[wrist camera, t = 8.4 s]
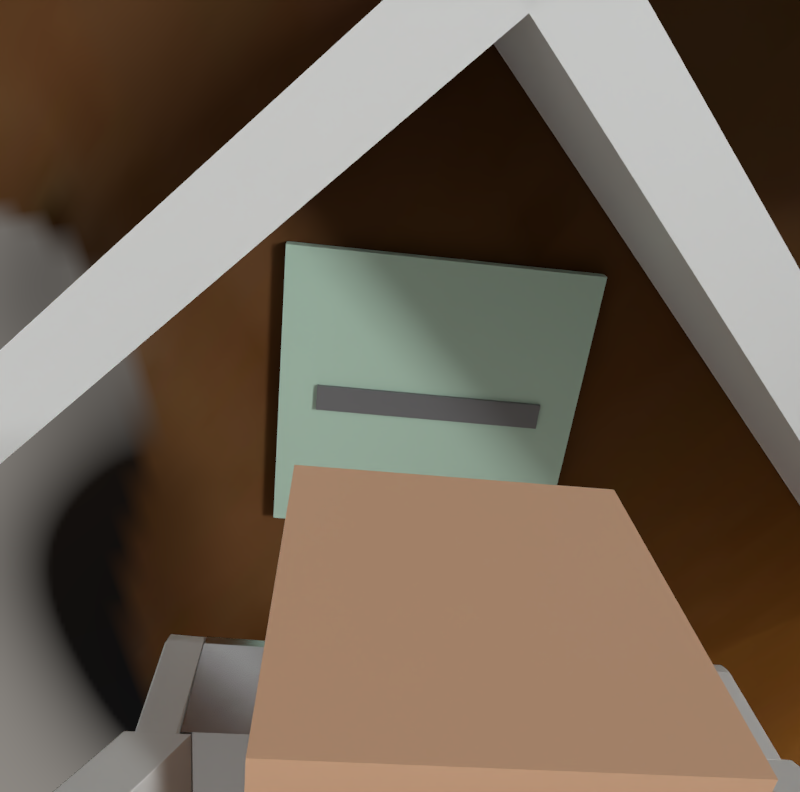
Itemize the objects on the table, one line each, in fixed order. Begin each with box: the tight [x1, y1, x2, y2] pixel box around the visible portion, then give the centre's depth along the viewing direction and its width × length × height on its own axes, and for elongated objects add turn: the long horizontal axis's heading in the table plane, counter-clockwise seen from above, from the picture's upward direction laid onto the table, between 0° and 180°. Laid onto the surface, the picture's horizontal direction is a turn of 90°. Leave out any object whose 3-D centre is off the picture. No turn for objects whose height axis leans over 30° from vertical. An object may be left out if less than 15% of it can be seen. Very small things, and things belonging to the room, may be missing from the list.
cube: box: [244, 465, 778, 792], centre depth 10 cm, size 5×5×5 cm
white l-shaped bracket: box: [0, 0, 800, 518], centre depth 19 cm, size 22×18×6 cm
